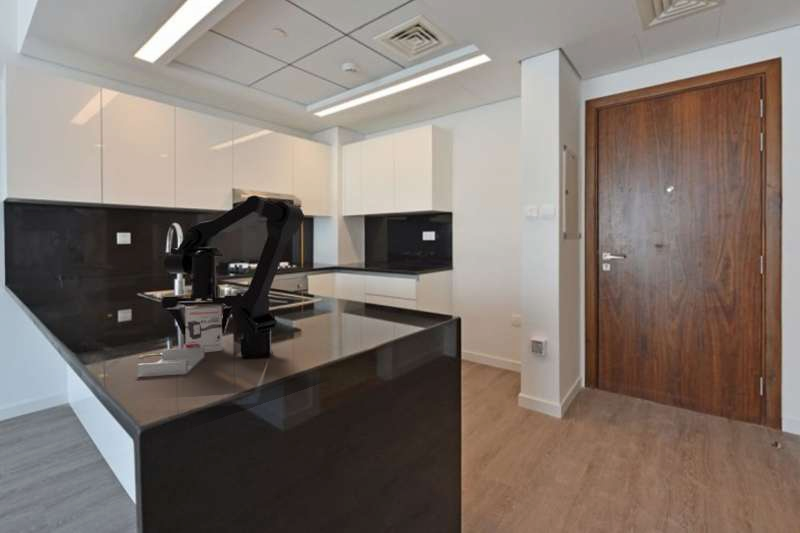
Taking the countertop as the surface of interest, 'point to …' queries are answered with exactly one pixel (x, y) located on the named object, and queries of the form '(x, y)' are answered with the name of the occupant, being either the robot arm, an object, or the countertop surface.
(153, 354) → the key
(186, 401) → the countertop surface
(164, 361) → the socket
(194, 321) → the ink box
